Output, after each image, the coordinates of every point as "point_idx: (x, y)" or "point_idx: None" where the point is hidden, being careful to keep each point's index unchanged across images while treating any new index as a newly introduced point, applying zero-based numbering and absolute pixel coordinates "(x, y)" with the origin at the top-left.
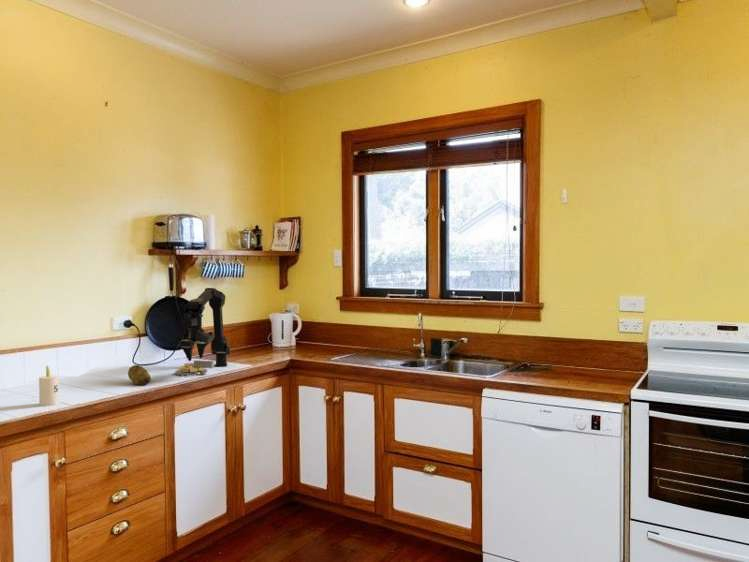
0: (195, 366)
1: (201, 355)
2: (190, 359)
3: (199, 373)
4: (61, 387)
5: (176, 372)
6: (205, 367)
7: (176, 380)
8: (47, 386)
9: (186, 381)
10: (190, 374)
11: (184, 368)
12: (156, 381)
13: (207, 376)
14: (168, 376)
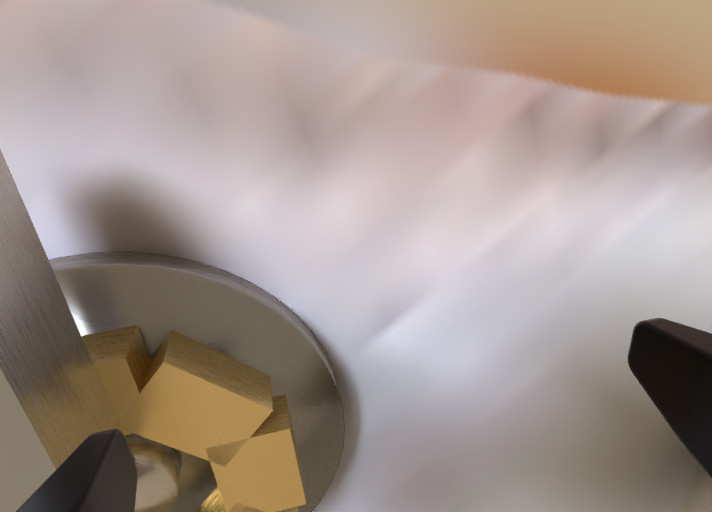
0: None
1: (102, 495)
2: (697, 335)
3: (186, 270)
4: None
5: (320, 498)
6: (47, 271)
7: (573, 271)
8: None
9: (609, 121)
10: (300, 329)
11: (286, 481)
12: (642, 390)
13: (199, 75)
14: (411, 474)
